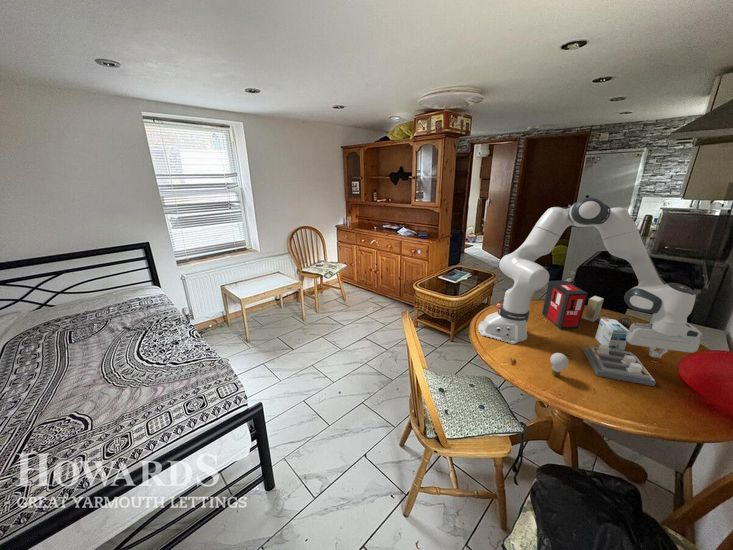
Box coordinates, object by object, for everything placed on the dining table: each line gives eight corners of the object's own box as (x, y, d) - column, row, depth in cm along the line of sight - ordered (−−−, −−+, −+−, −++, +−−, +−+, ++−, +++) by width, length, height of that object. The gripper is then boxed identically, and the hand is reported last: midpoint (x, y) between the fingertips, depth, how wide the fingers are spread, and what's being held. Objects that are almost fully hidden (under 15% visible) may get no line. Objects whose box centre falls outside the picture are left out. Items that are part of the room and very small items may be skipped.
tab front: (628, 373, 111) (631, 366, 109) (625, 368, 113) (628, 361, 112) (641, 376, 109) (645, 368, 108) (638, 371, 112) (641, 363, 111)
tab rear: (597, 355, 122) (600, 347, 121) (595, 350, 124) (597, 344, 123) (609, 356, 120) (611, 349, 119) (606, 352, 123) (609, 345, 122)
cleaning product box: (541, 313, 160) (549, 280, 153) (557, 313, 160) (565, 280, 153) (560, 329, 145) (569, 293, 137) (578, 329, 145) (588, 293, 137)
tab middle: (623, 365, 115) (625, 358, 114) (620, 361, 118) (622, 354, 116) (635, 367, 114) (638, 360, 112) (632, 363, 116) (635, 356, 115)
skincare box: (589, 315, 157) (594, 295, 152) (598, 318, 153) (604, 298, 149) (583, 318, 154) (588, 298, 149) (592, 322, 150) (598, 301, 146)
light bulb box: (624, 352, 126) (631, 331, 122) (606, 351, 128) (613, 330, 124) (610, 338, 136) (616, 319, 132) (594, 337, 137) (600, 318, 134)
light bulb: (543, 370, 117) (548, 349, 113) (558, 370, 117) (563, 349, 113) (552, 380, 112) (557, 359, 108) (567, 380, 111) (573, 359, 108)
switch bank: (596, 375, 113) (598, 368, 112) (583, 350, 128) (585, 344, 127) (654, 386, 107) (657, 378, 106) (633, 359, 122) (636, 352, 121)
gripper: (635, 326, 108) (625, 356, 113) (708, 334, 101) (693, 366, 106) (628, 317, 113) (618, 347, 118) (696, 325, 106) (683, 356, 111)
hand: (654, 356), depth 112 cm, fingers closed
